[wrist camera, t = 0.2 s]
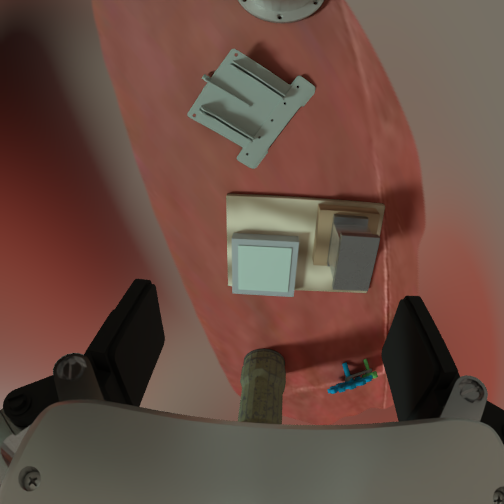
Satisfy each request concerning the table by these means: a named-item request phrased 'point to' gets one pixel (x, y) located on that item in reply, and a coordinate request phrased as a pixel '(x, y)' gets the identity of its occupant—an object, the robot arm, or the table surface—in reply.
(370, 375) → the gear
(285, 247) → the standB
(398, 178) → the table surface
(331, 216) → the stand
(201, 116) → the metal bracket
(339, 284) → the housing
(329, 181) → the table surface
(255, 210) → the board
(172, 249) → the table surface
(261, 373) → the thermos
